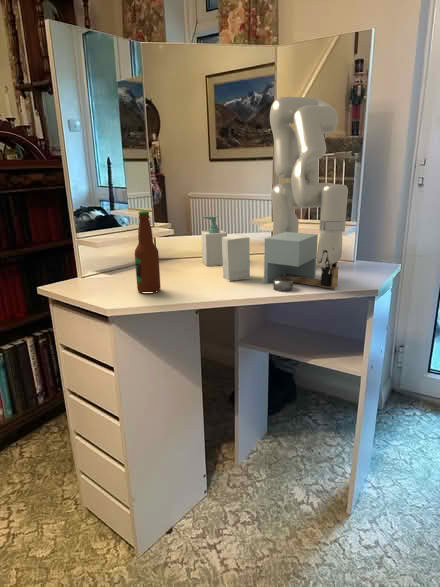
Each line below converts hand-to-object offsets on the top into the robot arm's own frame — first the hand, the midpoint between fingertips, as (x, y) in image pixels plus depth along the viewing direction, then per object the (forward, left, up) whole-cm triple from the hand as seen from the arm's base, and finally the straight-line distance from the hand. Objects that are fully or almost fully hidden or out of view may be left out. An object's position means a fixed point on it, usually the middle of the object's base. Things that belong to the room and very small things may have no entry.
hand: (328, 283), depth 129 cm
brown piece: (-7, 0, -1) cm, 7 cm away
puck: (-12, -8, -2) cm, 15 cm away
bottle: (-48, -32, -2) cm, 57 cm away
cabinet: (-15, +3, -1) cm, 15 cm away
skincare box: (-32, -5, -2) cm, 32 cm away
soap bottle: (-52, +11, -2) cm, 53 cm away
